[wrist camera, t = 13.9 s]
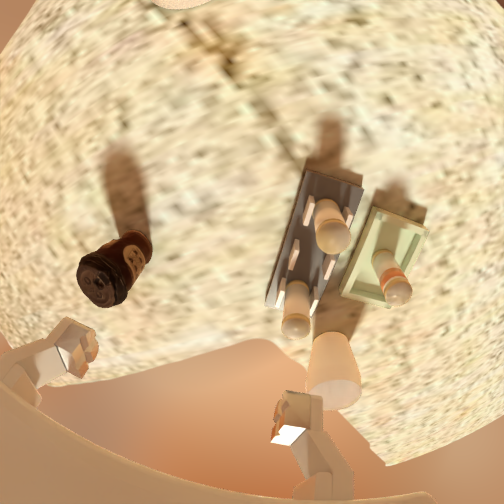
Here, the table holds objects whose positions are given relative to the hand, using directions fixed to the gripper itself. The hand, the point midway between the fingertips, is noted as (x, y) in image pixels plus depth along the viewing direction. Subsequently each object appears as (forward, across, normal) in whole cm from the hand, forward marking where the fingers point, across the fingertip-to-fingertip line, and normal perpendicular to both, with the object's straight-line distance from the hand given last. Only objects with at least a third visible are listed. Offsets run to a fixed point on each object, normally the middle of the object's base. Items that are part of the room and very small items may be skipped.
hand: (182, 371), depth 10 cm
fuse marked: (+30, -20, +6) cm, 37 cm away
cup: (+30, -19, +25) cm, 44 cm away
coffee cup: (+31, +18, +16) cm, 39 cm away
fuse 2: (+30, -9, +2) cm, 31 cm away
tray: (+31, -20, +6) cm, 37 cm away
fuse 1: (+29, -9, +15) cm, 34 cm away
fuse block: (+31, -9, +8) cm, 33 cm away
